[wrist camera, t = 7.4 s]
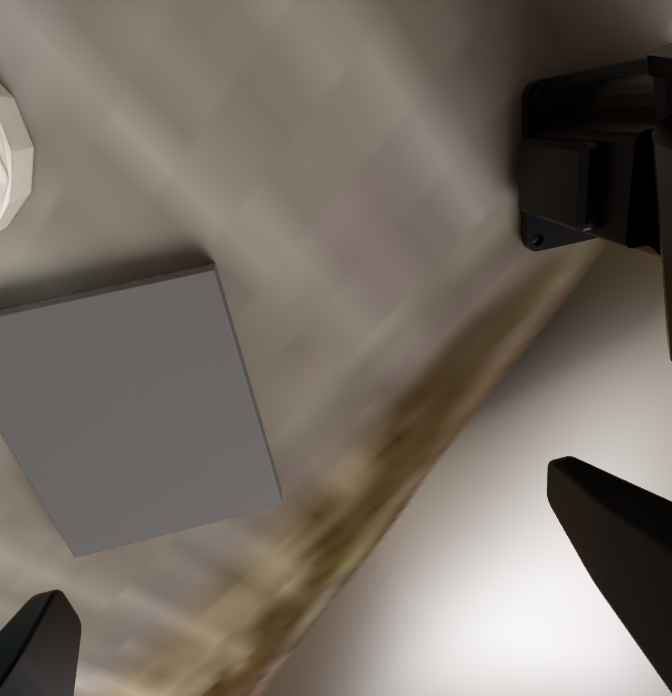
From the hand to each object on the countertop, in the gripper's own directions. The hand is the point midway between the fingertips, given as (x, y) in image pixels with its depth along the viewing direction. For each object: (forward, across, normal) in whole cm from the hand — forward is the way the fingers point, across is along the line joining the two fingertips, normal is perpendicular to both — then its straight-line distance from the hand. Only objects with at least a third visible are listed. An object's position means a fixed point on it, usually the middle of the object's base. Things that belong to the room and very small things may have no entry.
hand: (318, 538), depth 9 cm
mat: (+13, +7, +4) cm, 15 cm away
